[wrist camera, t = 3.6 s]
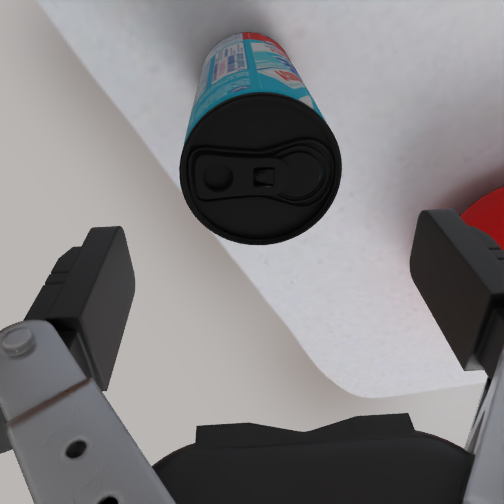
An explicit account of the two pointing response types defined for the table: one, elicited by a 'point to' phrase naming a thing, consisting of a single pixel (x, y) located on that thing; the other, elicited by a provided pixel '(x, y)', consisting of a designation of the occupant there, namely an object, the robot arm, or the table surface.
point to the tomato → (488, 215)
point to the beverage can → (257, 146)
